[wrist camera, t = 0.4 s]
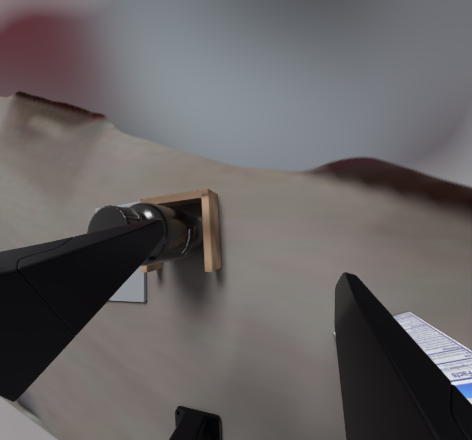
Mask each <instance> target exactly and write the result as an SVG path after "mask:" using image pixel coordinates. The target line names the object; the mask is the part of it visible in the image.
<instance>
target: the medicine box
mask: <svg viewBox="0 0 472 440" xmlns="http://www.w3.org/2000/svg"><path fill="white" fill-rule="evenodd" d="M393 317H394V318H395V319H396V320H397V321H398V323H399V324H400V325H401V326H402V327H403V328H404V329H405V330H406V332H407V333H408V334H409V335H410V336H411V337H412V338H413V339H414V340H415V342H416V343H417V344H418V345H419V346H420V347H421V348H422V349H423V351H424V352H425V353H426V354H427V355H428V356H429V357H430V358H431V359H432V361H433V362H434V363H435V364H436V365H437V366H438V367H439V368H440V370H441V371H442V372H443V373H444V374H445V375H446V376H447V377H448V378H449V380H450V381H451V384H453V385H455V386H456V387H457V388H458V390H459V391H460V392H461V393H462V394H463V395H464V396H465V397H466V398H467V400H468V401H469V402H470V403H471V404H472V351H471V350H469V349H468V348H466V347H465V346H463V345H462V344H460V343H458V342H457V341H455V340H454V339H452V338H450V337H449V336H447V335H446V334H444V333H442V332H441V331H439V330H438V329H436V328H434V327H433V326H431V325H429V324H428V323H426V322H425V321H423V320H421V319H420V318H418V317H417V316H415V315H413V314H412V313H410V312H407V313H404V314H400V315H396V316H393ZM333 333H334V335H335V332H333ZM335 338H336V336H335Z"/></svg>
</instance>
